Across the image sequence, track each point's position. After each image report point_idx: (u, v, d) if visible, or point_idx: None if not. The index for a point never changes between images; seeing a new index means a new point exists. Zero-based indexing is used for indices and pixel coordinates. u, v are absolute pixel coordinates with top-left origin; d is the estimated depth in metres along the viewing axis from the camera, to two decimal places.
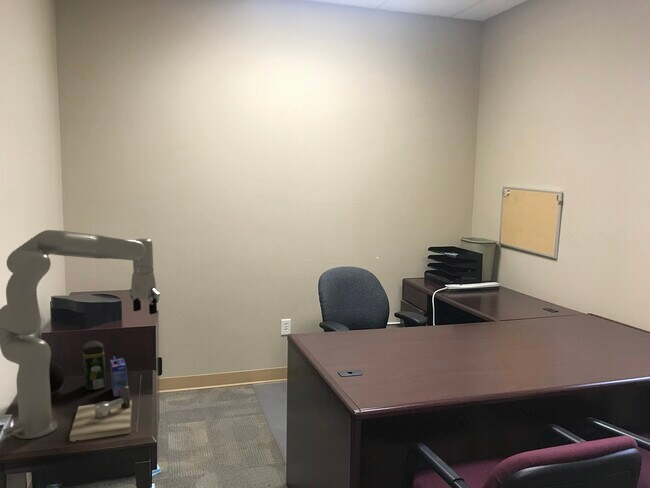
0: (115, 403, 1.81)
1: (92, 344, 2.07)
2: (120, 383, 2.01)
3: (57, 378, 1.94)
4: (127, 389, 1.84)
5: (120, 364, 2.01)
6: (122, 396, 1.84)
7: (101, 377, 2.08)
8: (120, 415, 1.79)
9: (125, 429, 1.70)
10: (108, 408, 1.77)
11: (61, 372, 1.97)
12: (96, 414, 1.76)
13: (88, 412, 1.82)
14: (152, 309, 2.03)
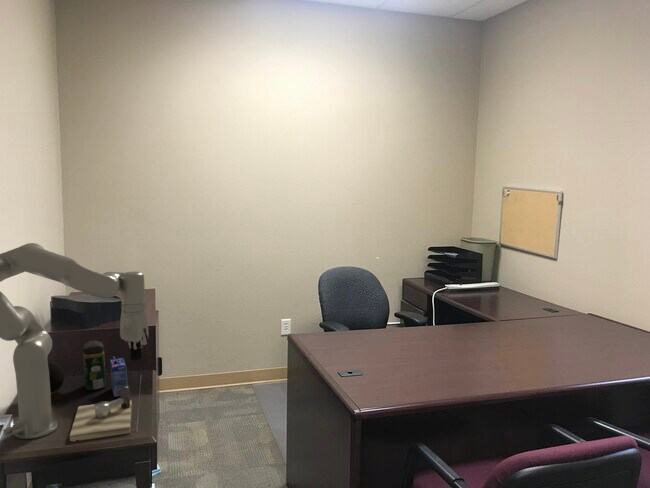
0: (115, 403, 1.81)
1: (92, 344, 2.07)
2: (120, 383, 2.01)
3: (57, 378, 1.94)
4: (127, 389, 1.84)
5: (120, 364, 2.01)
6: (122, 396, 1.84)
7: (101, 377, 2.08)
8: (120, 415, 1.79)
9: (125, 429, 1.70)
10: (108, 408, 1.77)
11: (61, 372, 1.97)
12: (96, 414, 1.76)
13: (88, 412, 1.82)
14: (135, 354, 1.79)
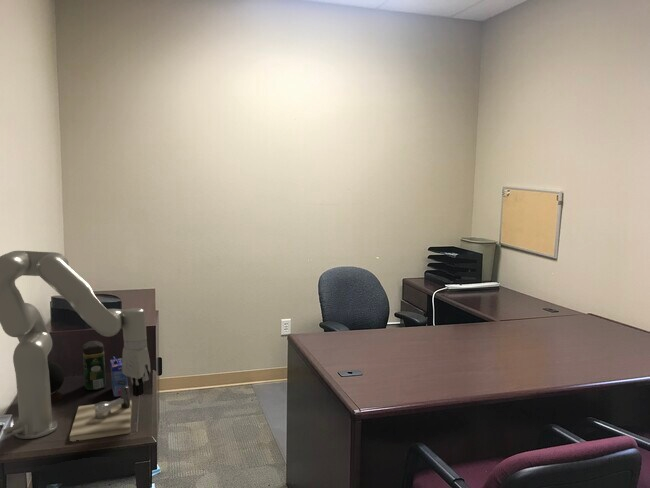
0: (115, 403, 1.81)
1: (92, 344, 2.07)
2: (120, 383, 2.01)
3: (57, 378, 1.94)
4: (127, 389, 1.84)
5: (120, 364, 2.01)
6: (122, 396, 1.84)
7: (101, 377, 2.08)
8: (120, 415, 1.79)
9: (125, 429, 1.70)
10: (108, 408, 1.77)
11: (61, 372, 1.97)
12: (96, 414, 1.76)
13: (88, 412, 1.82)
14: (137, 390, 1.80)
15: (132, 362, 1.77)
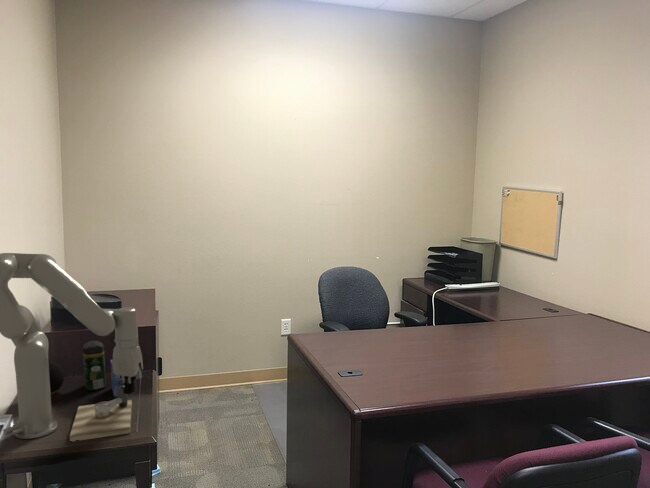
0: (114, 402, 1.81)
1: (92, 344, 2.07)
2: (120, 383, 2.01)
3: (57, 378, 1.94)
4: None
5: None
6: (120, 395, 1.84)
7: (101, 377, 2.08)
8: (120, 415, 1.79)
9: (125, 429, 1.70)
10: (109, 408, 1.77)
11: (61, 372, 1.97)
12: (97, 414, 1.76)
13: (88, 412, 1.82)
14: (130, 388, 1.83)
15: (126, 361, 1.80)
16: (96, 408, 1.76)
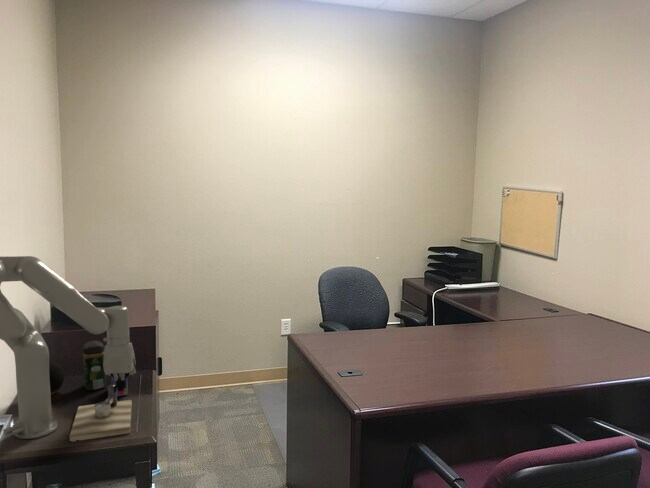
0: (109, 402, 1.82)
1: (92, 344, 2.07)
2: None
3: (57, 378, 1.94)
4: None
5: None
6: (112, 394, 1.85)
7: (101, 377, 2.08)
8: (120, 415, 1.79)
9: (125, 429, 1.70)
10: (110, 406, 1.79)
11: (61, 372, 1.97)
12: (100, 414, 1.76)
13: (88, 412, 1.82)
14: (123, 385, 1.86)
15: (121, 358, 1.83)
16: (99, 408, 1.75)
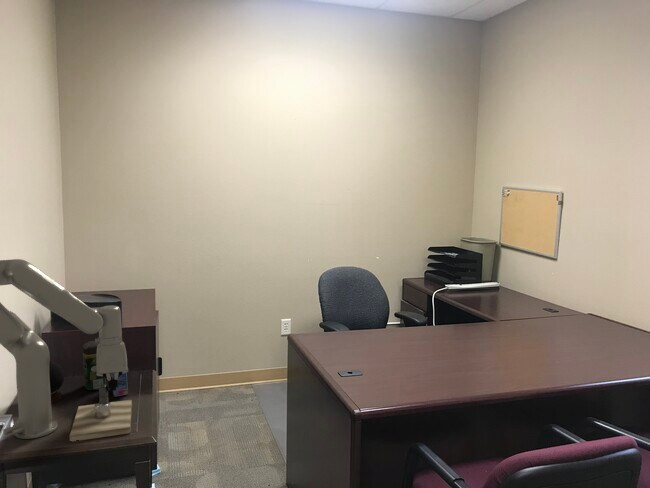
0: None
1: (92, 344, 2.07)
2: (120, 383, 2.01)
3: (57, 378, 1.94)
4: (107, 387, 1.87)
5: None
6: (104, 395, 1.85)
7: (101, 377, 2.08)
8: (120, 415, 1.79)
9: (125, 429, 1.70)
10: None
11: (61, 372, 1.97)
12: (102, 414, 1.76)
13: (88, 412, 1.82)
14: (116, 384, 1.87)
15: (115, 357, 1.84)
16: (101, 408, 1.76)
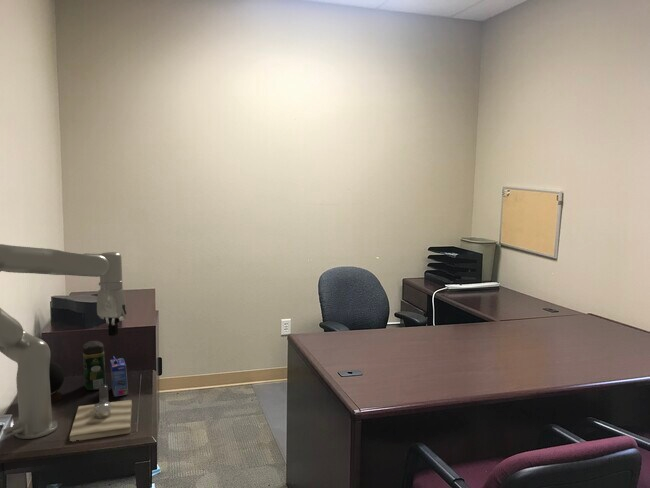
0: None
1: (92, 344, 2.07)
2: (120, 383, 2.01)
3: (57, 378, 1.94)
4: (107, 387, 1.87)
5: (120, 364, 2.01)
6: (104, 395, 1.85)
7: (101, 377, 2.08)
8: (120, 415, 1.79)
9: (125, 429, 1.70)
10: None
11: (61, 372, 1.97)
12: (102, 414, 1.76)
13: (88, 412, 1.82)
14: (113, 330, 1.90)
15: (110, 302, 1.87)
16: (101, 408, 1.76)
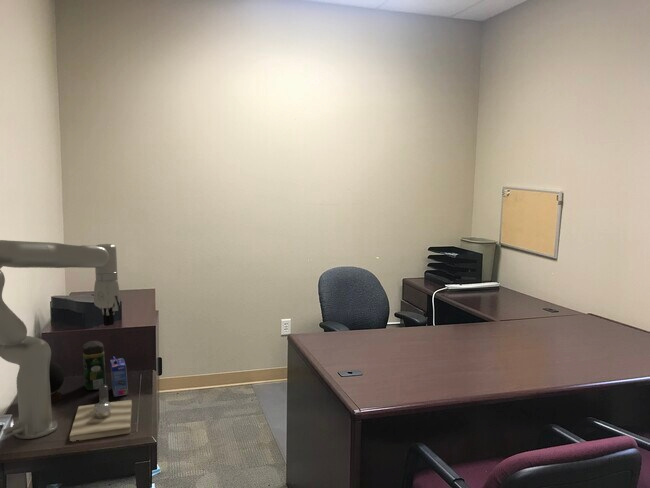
0: None
1: (92, 344, 2.07)
2: (120, 383, 2.01)
3: (57, 378, 1.94)
4: (107, 387, 1.87)
5: (120, 364, 2.01)
6: (104, 395, 1.85)
7: (101, 377, 2.08)
8: (120, 415, 1.79)
9: (125, 429, 1.70)
10: None
11: (61, 372, 1.97)
12: (102, 414, 1.76)
13: (88, 412, 1.82)
14: (108, 320, 1.94)
15: (103, 293, 1.91)
16: (101, 408, 1.76)
